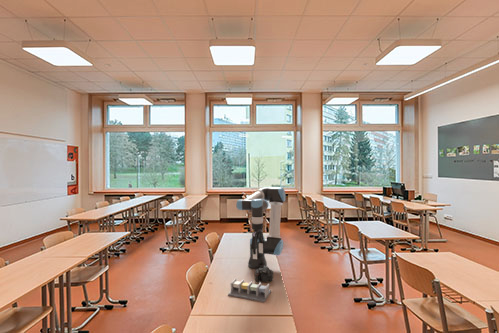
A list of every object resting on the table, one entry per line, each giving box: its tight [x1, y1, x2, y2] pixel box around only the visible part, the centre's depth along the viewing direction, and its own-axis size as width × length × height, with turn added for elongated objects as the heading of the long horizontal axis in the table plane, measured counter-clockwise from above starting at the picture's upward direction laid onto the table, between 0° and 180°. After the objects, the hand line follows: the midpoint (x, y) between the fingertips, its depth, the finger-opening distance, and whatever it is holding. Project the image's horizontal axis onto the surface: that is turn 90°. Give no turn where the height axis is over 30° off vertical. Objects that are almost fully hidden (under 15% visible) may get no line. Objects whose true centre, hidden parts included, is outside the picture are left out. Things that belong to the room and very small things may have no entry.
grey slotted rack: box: [227, 277, 272, 303], centre depth 164 cm, size 14×24×6 cm, turn 68°
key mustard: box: [241, 281, 250, 289], centre depth 165 cm, size 4×4×2 cm
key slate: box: [259, 284, 267, 293], centre depth 161 cm, size 4×4×2 cm
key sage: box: [250, 283, 258, 291], centre depth 163 cm, size 4×4×2 cm
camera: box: [254, 265, 274, 283], centre depth 181 cm, size 13×10×10 cm
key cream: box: [233, 280, 241, 288], centre depth 167 cm, size 4×4×2 cm
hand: (258, 255), depth 170 cm, fingers open, 11 cm apart
